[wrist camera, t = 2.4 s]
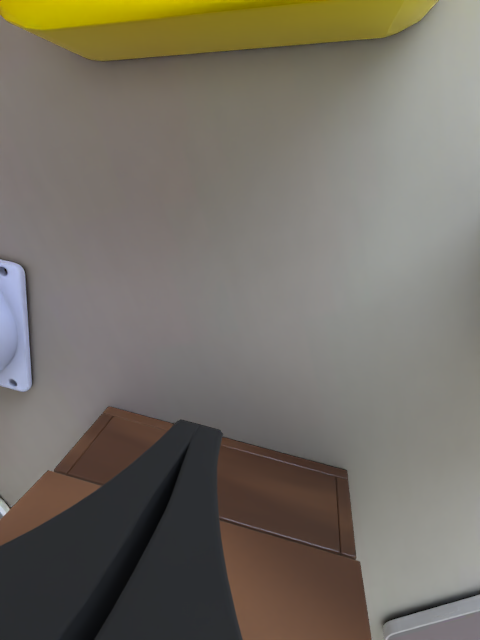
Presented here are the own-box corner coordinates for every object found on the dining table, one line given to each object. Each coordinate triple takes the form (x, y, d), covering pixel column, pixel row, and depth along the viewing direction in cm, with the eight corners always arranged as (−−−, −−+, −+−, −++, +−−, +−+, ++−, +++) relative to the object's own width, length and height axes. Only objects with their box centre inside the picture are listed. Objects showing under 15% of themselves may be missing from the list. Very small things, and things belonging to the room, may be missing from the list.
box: (296, 601, 26) (292, 698, 21) (103, 542, 27) (59, 620, 23) (347, 469, 21) (357, 558, 16) (108, 405, 23) (53, 469, 18)
